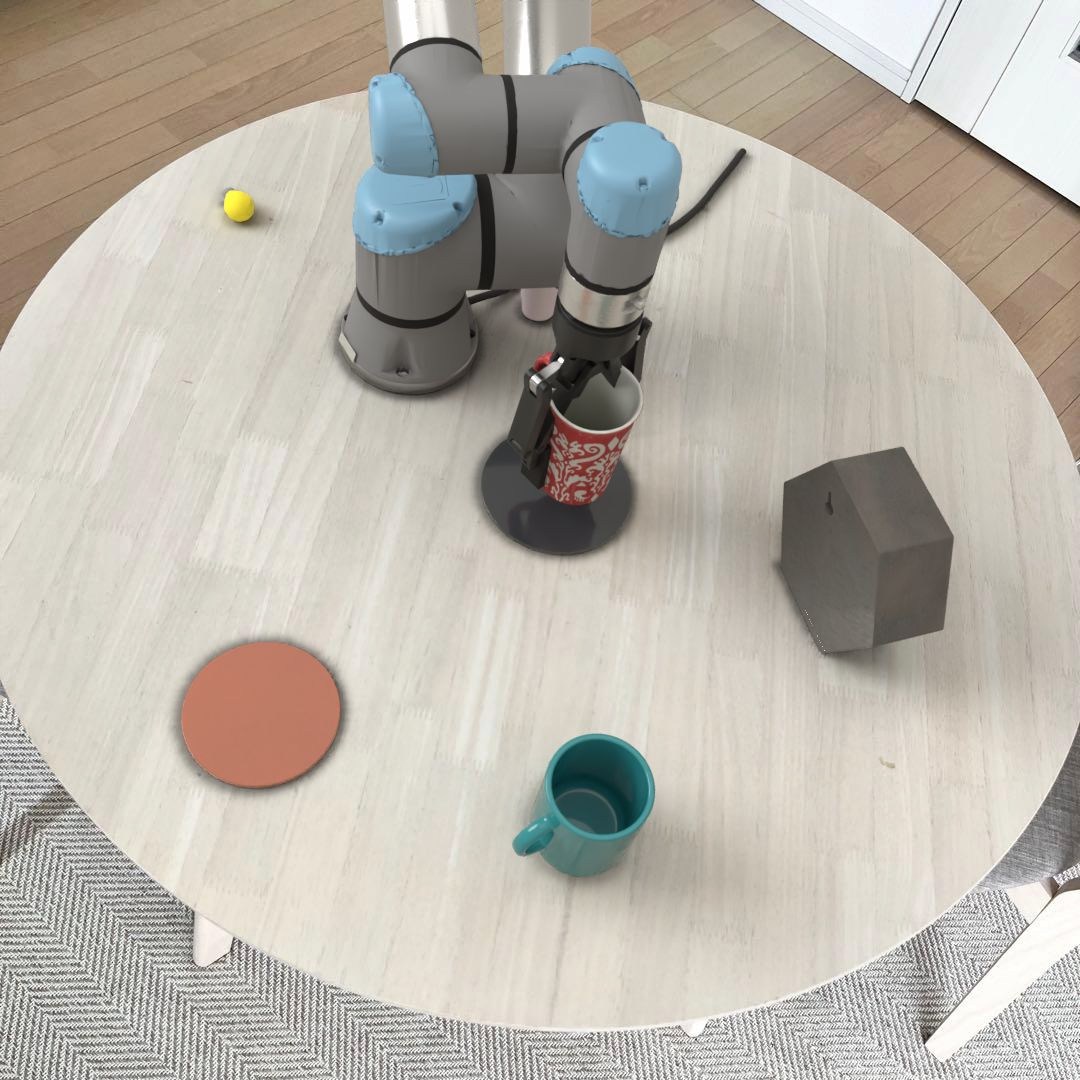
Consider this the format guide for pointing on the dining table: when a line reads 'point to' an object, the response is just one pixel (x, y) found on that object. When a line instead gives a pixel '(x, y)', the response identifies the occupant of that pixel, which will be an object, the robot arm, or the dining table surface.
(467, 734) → the dining table surface
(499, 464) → the coaster slate
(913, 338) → the dining table surface
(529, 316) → the smoothie
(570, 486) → the mug
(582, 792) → the cup
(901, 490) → the dark grey boxy piece
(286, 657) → the coaster terracotta
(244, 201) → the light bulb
